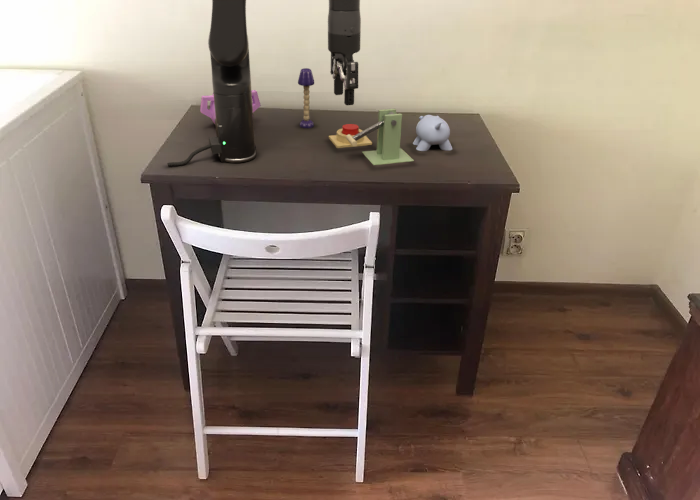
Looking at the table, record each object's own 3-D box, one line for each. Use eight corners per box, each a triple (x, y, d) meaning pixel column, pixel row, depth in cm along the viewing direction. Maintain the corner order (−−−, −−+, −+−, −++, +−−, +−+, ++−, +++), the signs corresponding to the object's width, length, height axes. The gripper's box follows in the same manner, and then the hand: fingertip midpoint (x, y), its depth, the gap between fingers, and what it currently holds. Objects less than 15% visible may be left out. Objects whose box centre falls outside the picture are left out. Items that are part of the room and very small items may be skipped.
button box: (336, 151, 159) (337, 138, 158) (328, 141, 166) (328, 128, 164) (372, 148, 162) (372, 135, 160) (362, 138, 169) (363, 125, 167)
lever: (353, 149, 148) (350, 141, 146) (347, 142, 152) (344, 134, 150) (400, 123, 148) (396, 115, 147) (392, 117, 152) (389, 109, 151)
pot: (194, 121, 177) (190, 81, 171) (250, 113, 184) (248, 75, 178) (211, 141, 164) (207, 99, 158) (271, 132, 171) (269, 91, 165)
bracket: (373, 169, 150) (375, 119, 143) (361, 155, 157) (363, 108, 151) (413, 164, 153) (417, 116, 146) (400, 152, 160) (403, 105, 154)
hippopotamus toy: (442, 136, 171) (446, 104, 166) (457, 156, 158) (461, 121, 153) (405, 137, 170) (408, 104, 165) (417, 157, 157) (420, 122, 152)
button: (345, 136, 160) (345, 129, 159) (340, 131, 164) (340, 124, 163) (360, 135, 161) (360, 128, 160) (355, 130, 165) (355, 123, 164)
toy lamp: (317, 127, 175) (317, 70, 166) (303, 130, 173) (303, 72, 164) (309, 122, 178) (308, 66, 170) (295, 125, 176) (294, 68, 168)
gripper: (320, 24, 141) (320, 92, 150) (337, 37, 130) (337, 109, 138) (350, 23, 143) (349, 90, 152) (370, 35, 132) (368, 107, 140)
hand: (343, 99), depth 145 cm, fingers open, 8 cm apart
